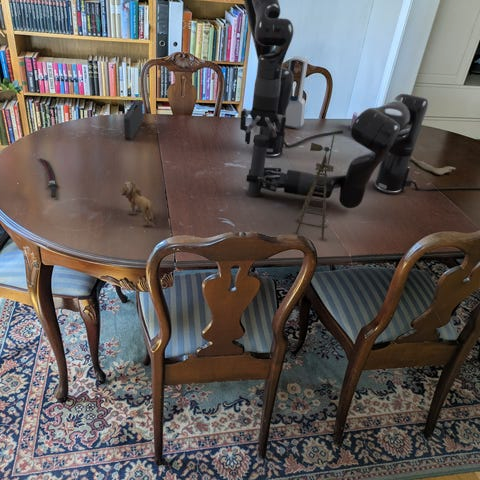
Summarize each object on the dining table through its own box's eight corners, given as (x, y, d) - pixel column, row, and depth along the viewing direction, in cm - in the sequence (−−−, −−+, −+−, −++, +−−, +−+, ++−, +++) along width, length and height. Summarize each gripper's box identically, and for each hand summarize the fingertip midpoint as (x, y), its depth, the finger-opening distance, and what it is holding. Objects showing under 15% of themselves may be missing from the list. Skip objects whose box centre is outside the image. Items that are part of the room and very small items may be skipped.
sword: (61, 197, 141) (61, 193, 140) (50, 198, 139) (50, 194, 139) (49, 160, 164) (48, 156, 163) (39, 160, 163) (39, 157, 162)
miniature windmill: (323, 240, 134) (345, 141, 118) (294, 234, 135) (312, 135, 119) (324, 224, 142) (346, 129, 126) (297, 219, 143) (314, 124, 127)
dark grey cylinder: (253, 198, 153) (260, 143, 142) (245, 192, 155) (251, 138, 145) (263, 195, 155) (270, 141, 145) (254, 189, 158) (261, 136, 147)
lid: (250, 141, 146) (250, 135, 145) (261, 139, 148) (262, 133, 147) (259, 146, 143) (260, 140, 142) (271, 144, 145) (271, 138, 144)
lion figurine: (118, 210, 138) (116, 182, 133) (132, 204, 141) (131, 177, 137) (151, 229, 130) (150, 201, 126) (165, 223, 134) (165, 195, 129)
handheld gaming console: (136, 121, 202) (136, 98, 197) (143, 121, 202) (142, 98, 197) (123, 140, 183) (122, 115, 178) (130, 141, 183) (130, 116, 178)
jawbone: (446, 180, 181) (448, 175, 179) (397, 163, 191) (398, 159, 190) (455, 172, 186) (456, 167, 185) (406, 156, 197) (407, 152, 195)
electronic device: (303, 125, 218) (315, 58, 202) (300, 130, 212) (311, 61, 196) (278, 120, 221) (287, 54, 205) (273, 125, 215) (283, 56, 199)
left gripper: (240, 92, 135) (235, 146, 143) (289, 99, 133) (281, 153, 142) (245, 85, 141) (240, 138, 150) (292, 92, 139) (284, 145, 148)
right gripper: (303, 163, 154) (252, 156, 156) (300, 181, 142) (245, 173, 144) (299, 184, 158) (250, 176, 160) (296, 203, 146) (243, 194, 148)
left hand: (260, 145), depth 146 cm, fingers open, 7 cm apart
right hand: (248, 174), depth 152 cm, fingers closed on dark grey cylinder, 4 cm apart
